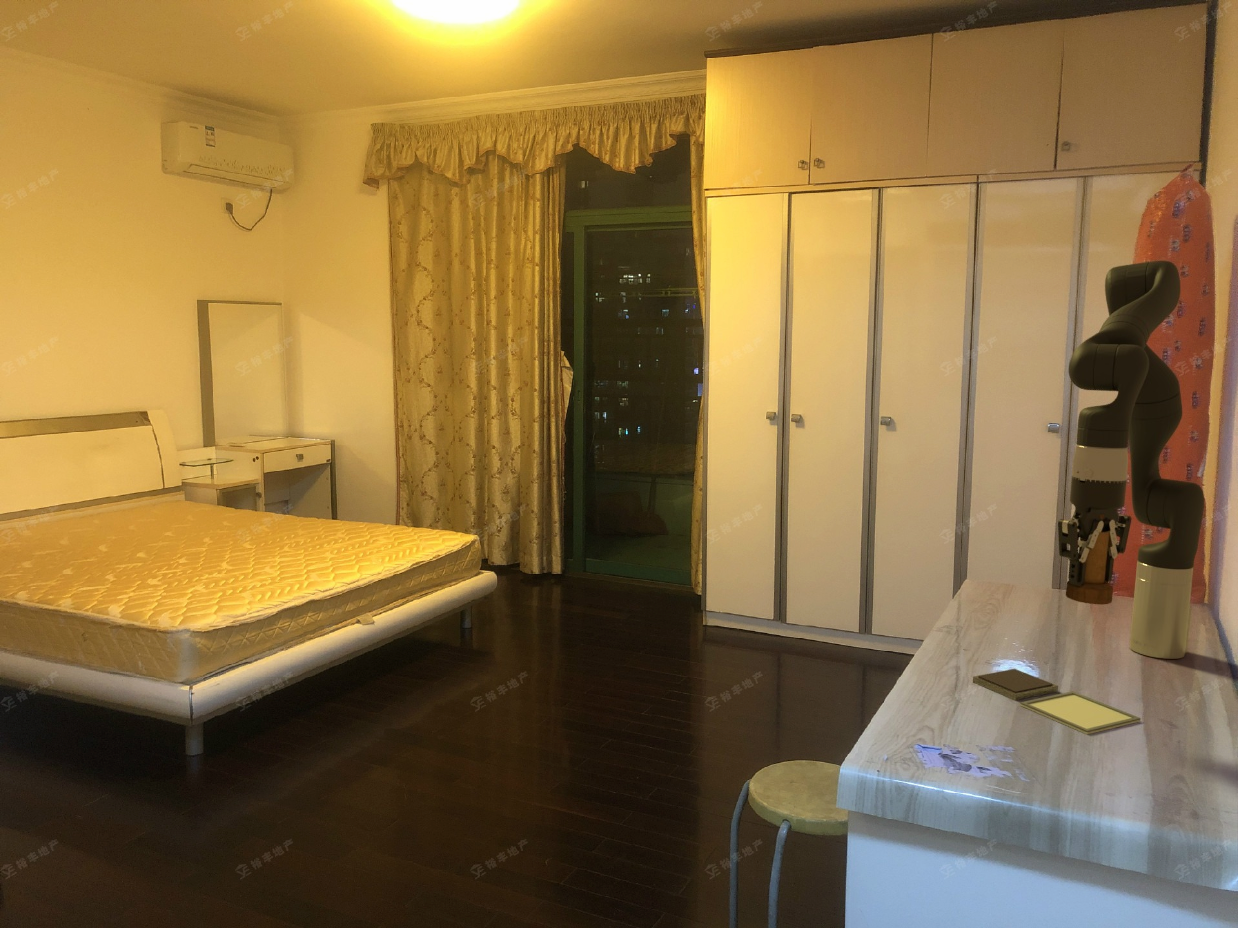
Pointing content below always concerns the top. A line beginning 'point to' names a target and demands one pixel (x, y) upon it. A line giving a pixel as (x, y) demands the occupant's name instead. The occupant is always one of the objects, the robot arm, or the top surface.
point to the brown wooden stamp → (1094, 575)
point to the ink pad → (1015, 684)
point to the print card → (1080, 712)
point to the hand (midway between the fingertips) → (1089, 582)
